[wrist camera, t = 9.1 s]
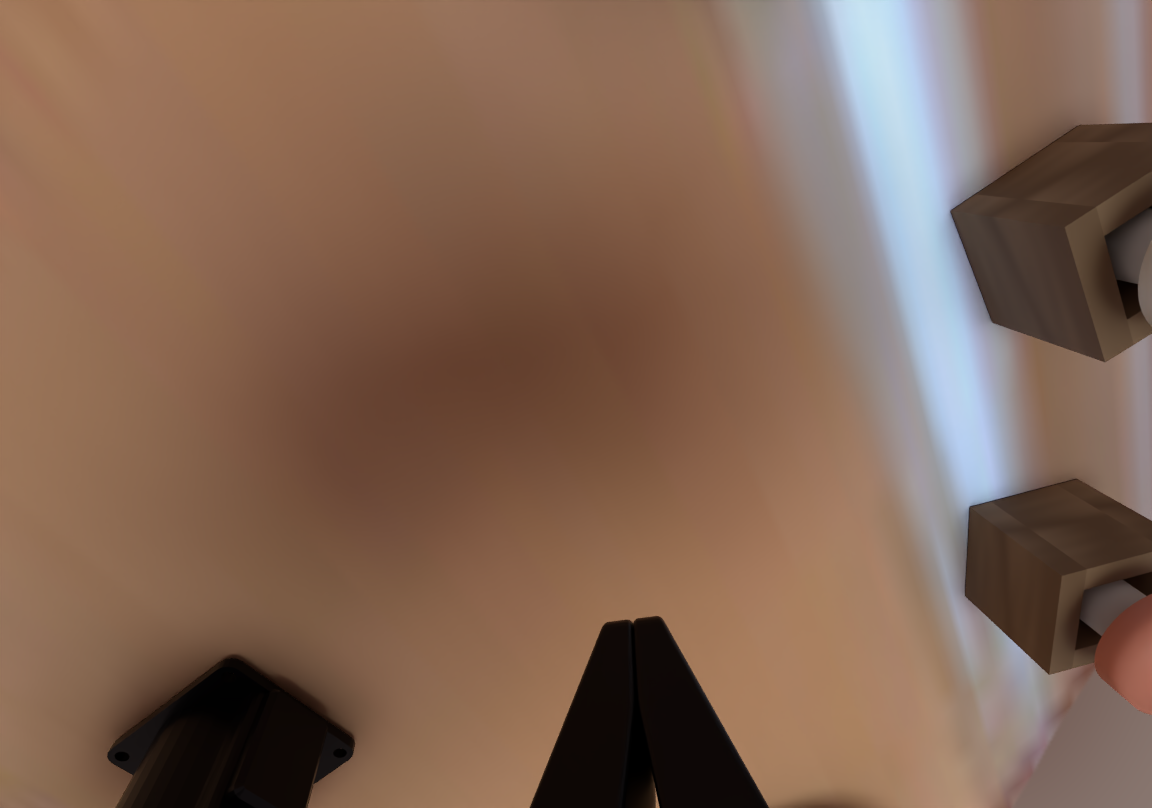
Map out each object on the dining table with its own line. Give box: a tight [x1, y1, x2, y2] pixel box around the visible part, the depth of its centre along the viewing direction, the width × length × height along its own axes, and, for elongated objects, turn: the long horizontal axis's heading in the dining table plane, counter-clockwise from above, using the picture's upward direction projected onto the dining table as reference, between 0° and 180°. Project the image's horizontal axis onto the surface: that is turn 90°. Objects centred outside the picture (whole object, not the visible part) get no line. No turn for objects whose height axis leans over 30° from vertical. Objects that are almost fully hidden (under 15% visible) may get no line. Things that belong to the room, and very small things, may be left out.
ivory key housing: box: [951, 123, 1152, 362], centre depth 19 cm, size 5×5×4 cm
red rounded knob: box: [1080, 580, 1152, 715], centre depth 22 cm, size 4×4×5 cm
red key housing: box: [965, 479, 1152, 675], centre depth 24 cm, size 5×5×4 cm
